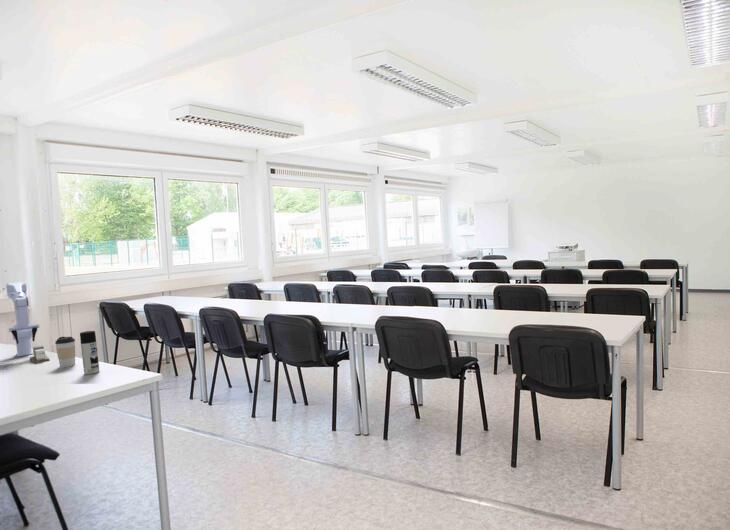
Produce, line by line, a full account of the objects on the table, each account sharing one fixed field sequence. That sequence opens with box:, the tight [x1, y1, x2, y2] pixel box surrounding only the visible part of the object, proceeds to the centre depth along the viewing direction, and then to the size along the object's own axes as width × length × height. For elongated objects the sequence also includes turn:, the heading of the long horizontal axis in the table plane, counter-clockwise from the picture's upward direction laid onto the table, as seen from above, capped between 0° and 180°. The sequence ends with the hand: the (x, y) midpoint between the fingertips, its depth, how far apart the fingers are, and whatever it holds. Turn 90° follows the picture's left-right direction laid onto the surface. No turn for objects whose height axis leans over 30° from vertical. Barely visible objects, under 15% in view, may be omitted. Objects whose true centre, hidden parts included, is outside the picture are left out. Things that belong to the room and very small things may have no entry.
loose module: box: [32, 345, 45, 358], centre depth 297 cm, size 5×4×6 cm
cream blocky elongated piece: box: [29, 347, 50, 364], centre depth 298 cm, size 17×8×6 cm, turn 37°
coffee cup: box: [54, 336, 76, 368], centre depth 276 cm, size 9×9×15 cm
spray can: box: [79, 330, 100, 375], centre depth 255 cm, size 7×7×20 cm
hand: (25, 342), depth 302 cm, fingers open, 7 cm apart
